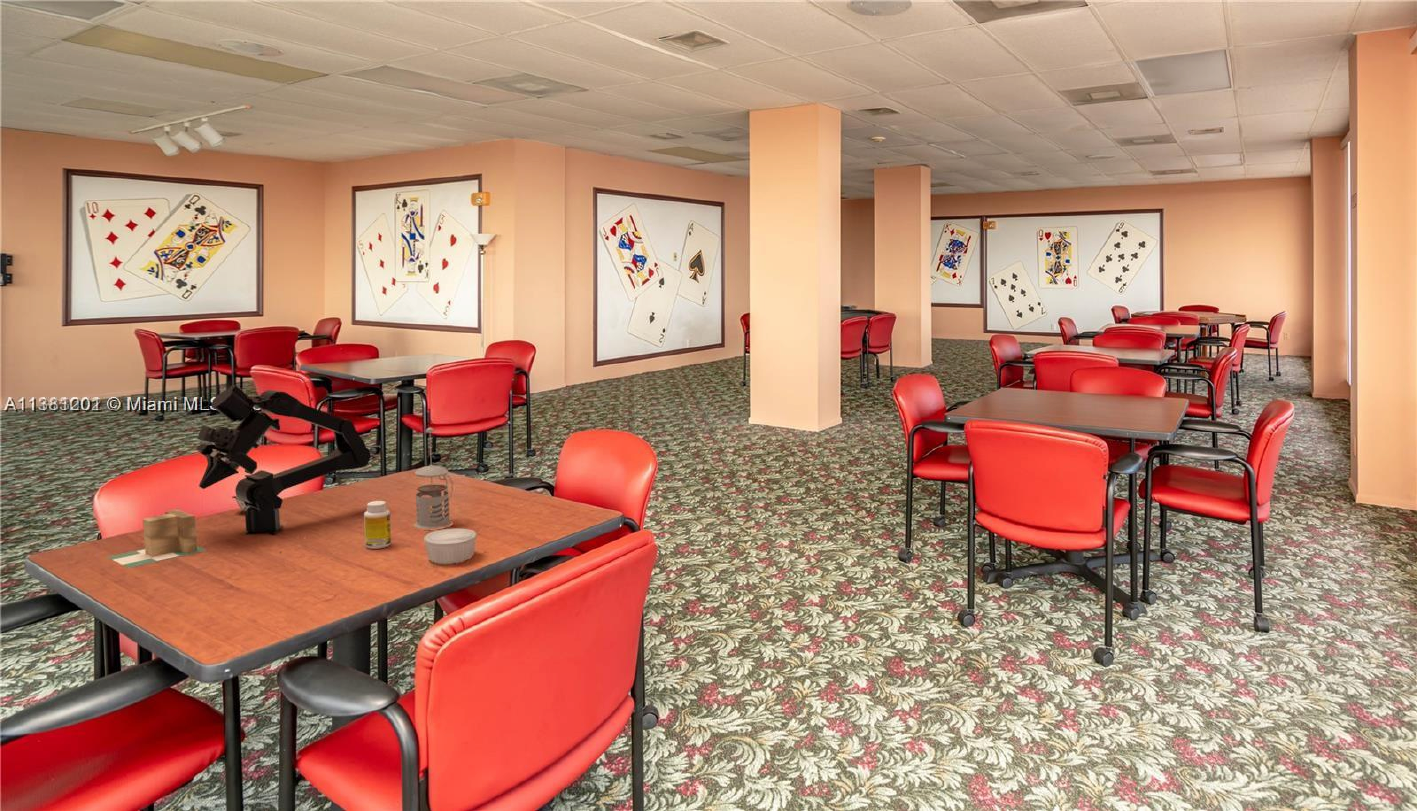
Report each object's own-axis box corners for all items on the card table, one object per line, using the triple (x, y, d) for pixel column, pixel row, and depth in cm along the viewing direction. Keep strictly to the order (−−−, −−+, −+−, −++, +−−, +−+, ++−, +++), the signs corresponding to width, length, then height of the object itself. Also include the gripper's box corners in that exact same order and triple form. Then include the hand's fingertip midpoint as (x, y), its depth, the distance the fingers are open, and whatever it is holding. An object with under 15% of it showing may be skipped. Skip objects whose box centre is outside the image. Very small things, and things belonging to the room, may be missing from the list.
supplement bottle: (392, 547, 192) (390, 504, 191) (366, 550, 190) (364, 507, 189) (390, 541, 197) (388, 498, 196) (364, 544, 195) (362, 501, 193)
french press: (404, 528, 208) (400, 429, 205) (435, 516, 219) (432, 422, 215) (436, 532, 205) (432, 431, 201) (466, 520, 215) (463, 424, 212)
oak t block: (180, 542, 193) (177, 509, 192) (197, 550, 188) (194, 515, 187) (140, 551, 187) (137, 516, 186) (157, 559, 181) (154, 523, 180)
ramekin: (448, 569, 178) (447, 545, 177) (413, 560, 184) (412, 537, 183) (488, 556, 187) (487, 533, 187) (453, 547, 193) (452, 525, 192)
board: (184, 542, 195) (184, 540, 195) (207, 552, 188) (207, 549, 188) (106, 558, 183) (106, 556, 183) (128, 570, 176) (128, 567, 176)
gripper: (202, 409, 199) (154, 462, 192) (239, 416, 188) (189, 473, 181) (239, 437, 206) (194, 489, 199) (277, 446, 195) (230, 501, 188)
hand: (201, 487), depth 191 cm, fingers closed
